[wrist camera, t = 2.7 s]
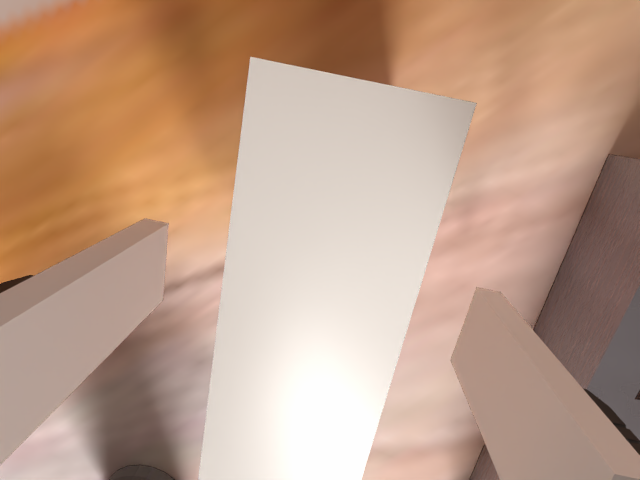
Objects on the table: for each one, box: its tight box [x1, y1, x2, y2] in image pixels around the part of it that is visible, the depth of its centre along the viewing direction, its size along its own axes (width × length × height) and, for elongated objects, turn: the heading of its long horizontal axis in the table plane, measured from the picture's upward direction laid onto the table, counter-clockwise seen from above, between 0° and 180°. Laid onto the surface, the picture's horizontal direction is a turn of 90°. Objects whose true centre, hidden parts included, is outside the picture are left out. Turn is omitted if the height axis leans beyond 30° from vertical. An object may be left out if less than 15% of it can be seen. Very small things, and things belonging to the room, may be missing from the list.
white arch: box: [198, 57, 476, 480], centre depth 12 cm, size 12×3×10 cm, turn 169°
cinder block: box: [470, 154, 640, 480], centre depth 16 cm, size 8×20×4 cm, turn 169°
